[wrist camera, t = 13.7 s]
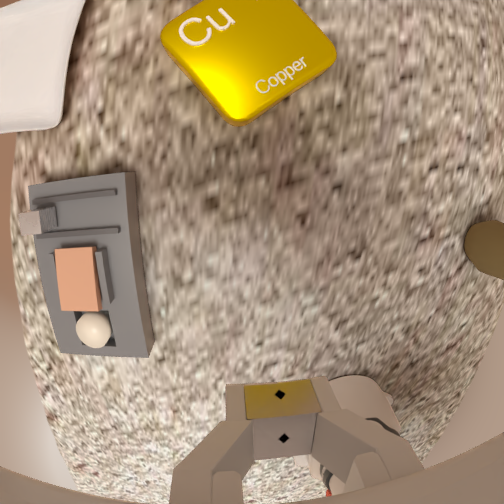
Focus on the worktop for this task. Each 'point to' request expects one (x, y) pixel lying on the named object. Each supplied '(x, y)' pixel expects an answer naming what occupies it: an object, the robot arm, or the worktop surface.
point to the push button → (94, 328)
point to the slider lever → (37, 221)
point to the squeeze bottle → (486, 247)
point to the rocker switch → (78, 279)
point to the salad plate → (35, 62)
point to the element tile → (247, 53)
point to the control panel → (97, 258)
